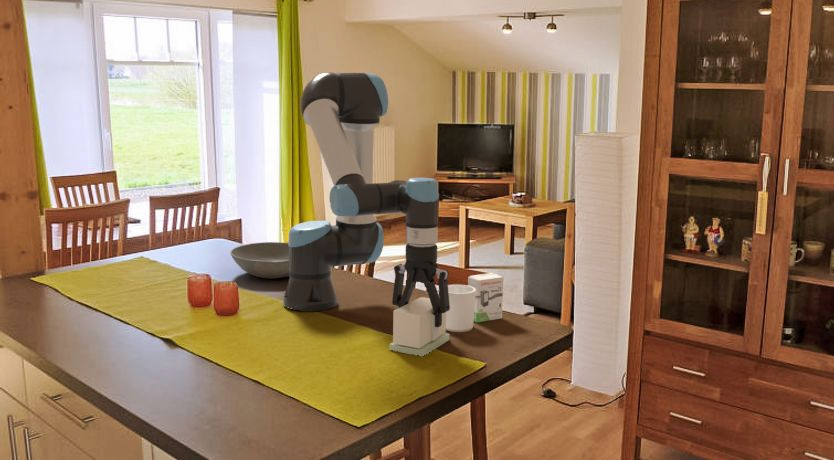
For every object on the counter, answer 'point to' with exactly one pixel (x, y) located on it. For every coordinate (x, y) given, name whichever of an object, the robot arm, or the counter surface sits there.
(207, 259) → the counter surface
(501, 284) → the ink box
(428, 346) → the header block
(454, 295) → the mug
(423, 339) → the white rectangular block
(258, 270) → the bowl
